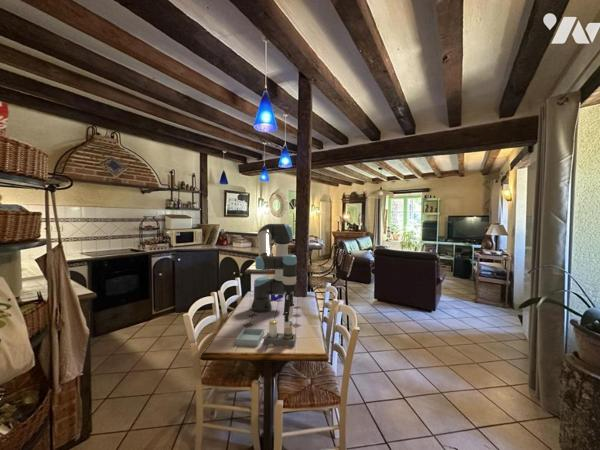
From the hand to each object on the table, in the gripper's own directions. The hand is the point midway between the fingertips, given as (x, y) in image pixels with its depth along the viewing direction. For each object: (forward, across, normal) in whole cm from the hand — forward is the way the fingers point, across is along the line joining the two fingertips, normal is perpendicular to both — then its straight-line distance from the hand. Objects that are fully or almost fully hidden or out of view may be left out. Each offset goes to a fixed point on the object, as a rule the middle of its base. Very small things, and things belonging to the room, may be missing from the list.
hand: (288, 322), depth 139 cm
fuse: (+10, 0, -8) cm, 13 cm away
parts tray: (+11, -2, -21) cm, 24 cm away
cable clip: (+10, -76, -20) cm, 79 cm away
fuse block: (+11, 0, -4) cm, 12 cm away
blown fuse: (+10, 0, 0) cm, 10 cm away
